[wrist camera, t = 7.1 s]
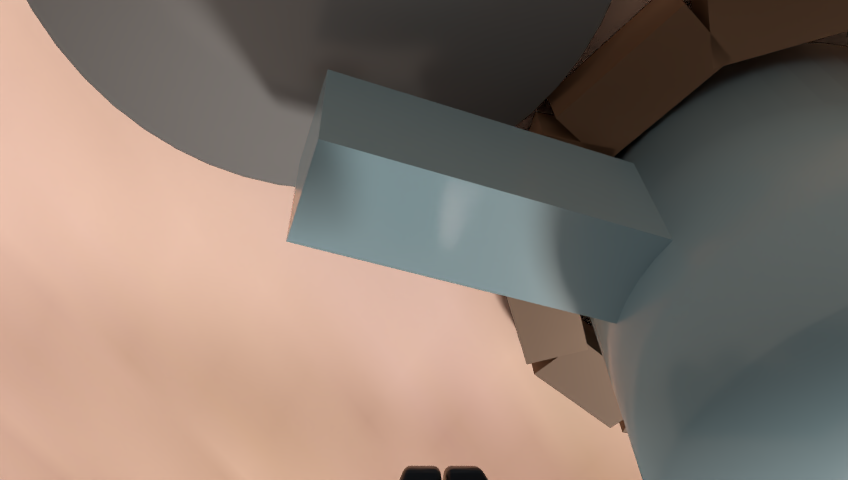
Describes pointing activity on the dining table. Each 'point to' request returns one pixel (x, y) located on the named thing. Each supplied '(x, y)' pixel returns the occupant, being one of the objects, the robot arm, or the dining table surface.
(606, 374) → the holder ring
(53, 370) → the dining table surface
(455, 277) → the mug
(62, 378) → the dining table surface
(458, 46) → the coaster
